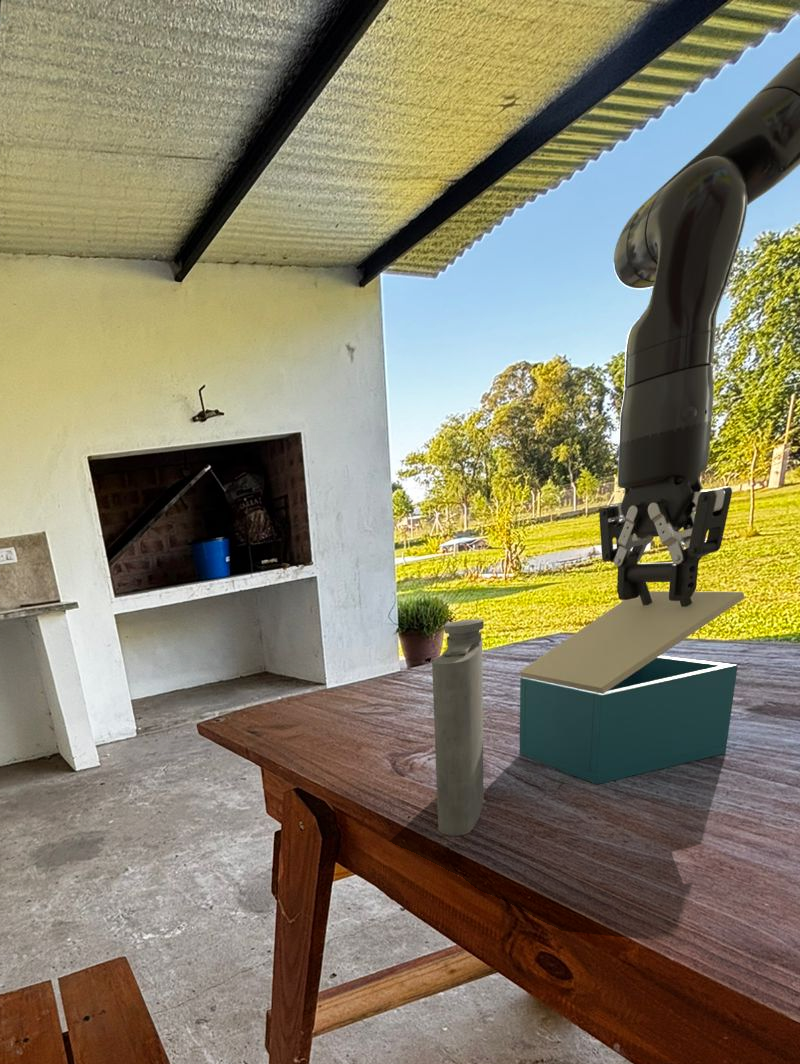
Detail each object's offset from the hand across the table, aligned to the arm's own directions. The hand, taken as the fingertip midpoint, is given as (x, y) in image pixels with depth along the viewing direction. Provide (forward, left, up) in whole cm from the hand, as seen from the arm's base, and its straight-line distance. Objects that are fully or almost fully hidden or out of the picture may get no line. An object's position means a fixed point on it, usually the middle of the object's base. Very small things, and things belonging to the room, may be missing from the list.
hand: (653, 598), depth 68 cm
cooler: (+3, 0, -17) cm, 18 cm away
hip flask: (+25, +4, -18) cm, 31 cm away
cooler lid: (+4, 0, -4) cm, 5 cm away
